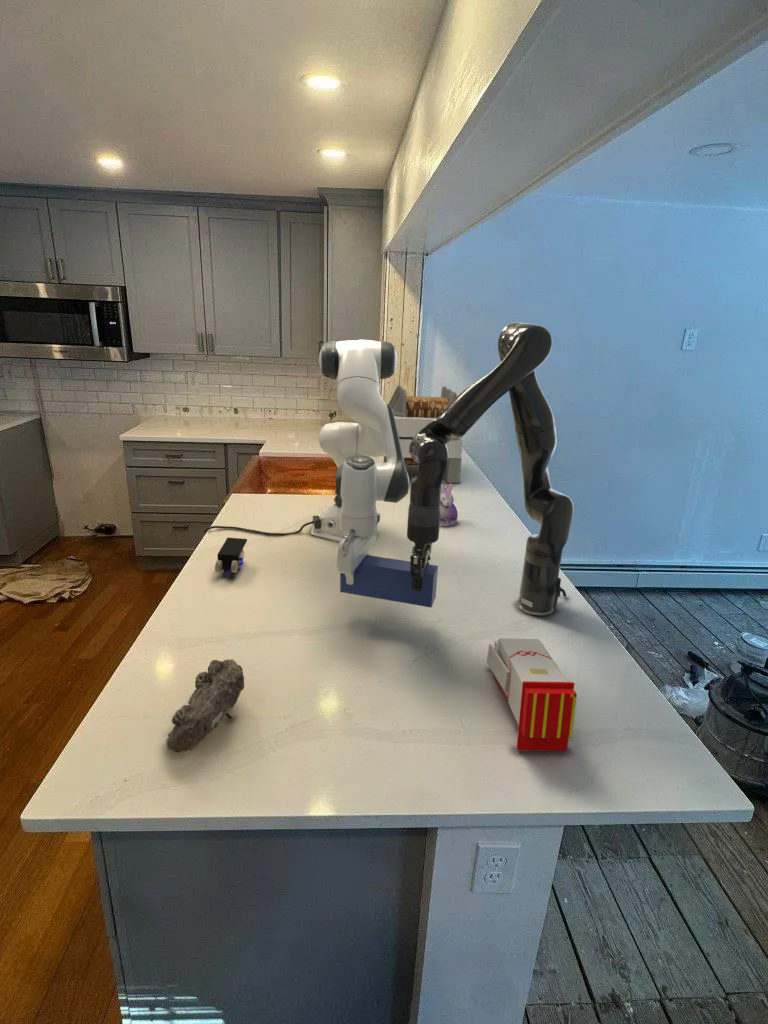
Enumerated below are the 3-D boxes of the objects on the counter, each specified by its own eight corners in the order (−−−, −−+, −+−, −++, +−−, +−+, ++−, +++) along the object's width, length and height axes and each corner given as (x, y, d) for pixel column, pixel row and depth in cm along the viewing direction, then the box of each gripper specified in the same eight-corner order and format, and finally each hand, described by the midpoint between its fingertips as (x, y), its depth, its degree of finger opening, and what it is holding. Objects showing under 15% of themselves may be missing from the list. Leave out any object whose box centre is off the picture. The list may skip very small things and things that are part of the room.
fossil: (192, 660, 117) (244, 628, 112) (224, 691, 120) (276, 661, 115) (142, 746, 98) (202, 712, 93) (182, 779, 101) (242, 748, 96)
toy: (536, 621, 128) (586, 689, 98) (531, 676, 131) (578, 758, 101) (482, 620, 127) (517, 688, 98) (478, 675, 130) (511, 757, 101)
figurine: (442, 528, 206) (446, 489, 201) (428, 519, 214) (431, 481, 209) (464, 525, 210) (468, 486, 205) (449, 516, 218) (452, 479, 213)
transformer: (382, 463, 289) (386, 382, 275) (445, 464, 293) (451, 384, 279) (390, 482, 257) (394, 392, 243) (460, 483, 261) (468, 394, 247)
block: (340, 592, 142) (340, 560, 139) (347, 582, 147) (347, 551, 144) (431, 607, 136) (433, 575, 133) (435, 597, 141) (438, 565, 138)
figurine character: (238, 584, 162) (249, 557, 175) (236, 562, 158) (247, 536, 172) (215, 584, 161) (227, 556, 175) (212, 561, 158) (225, 535, 171)
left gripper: (356, 540, 127) (355, 595, 132) (382, 512, 146) (380, 561, 150) (330, 536, 128) (329, 591, 133) (358, 509, 147) (357, 557, 152)
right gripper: (433, 532, 125) (428, 601, 131) (445, 512, 138) (440, 574, 144) (400, 528, 127) (397, 595, 132) (415, 508, 140) (411, 570, 145)
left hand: (356, 575), depth 142 cm, fingers open, 8 cm apart
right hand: (419, 584), depth 138 cm, fingers closed on block, 5 cm apart
